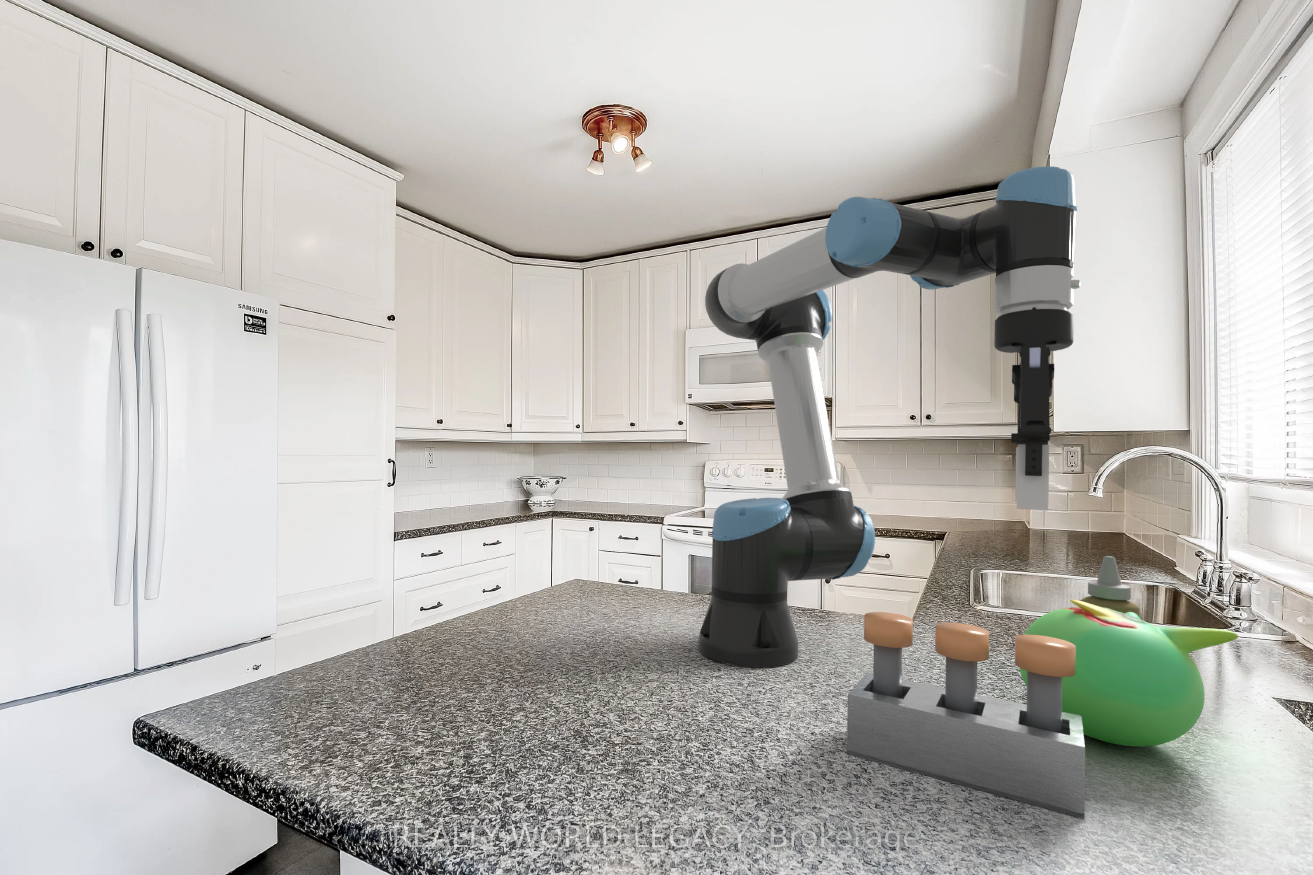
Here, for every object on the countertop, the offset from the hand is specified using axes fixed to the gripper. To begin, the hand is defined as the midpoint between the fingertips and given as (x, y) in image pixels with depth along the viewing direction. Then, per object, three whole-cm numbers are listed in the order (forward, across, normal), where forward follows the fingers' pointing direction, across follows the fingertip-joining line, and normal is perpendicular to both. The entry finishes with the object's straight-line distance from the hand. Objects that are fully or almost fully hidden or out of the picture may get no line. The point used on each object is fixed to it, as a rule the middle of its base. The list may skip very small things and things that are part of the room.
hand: (1030, 505), depth 69 cm
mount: (+25, -11, +6) cm, 28 cm away
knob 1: (+19, -10, +13) cm, 26 cm away
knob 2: (+19, -11, -1) cm, 22 cm away
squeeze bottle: (+26, +22, -10) cm, 35 cm away
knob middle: (+19, -11, +6) cm, 23 cm away
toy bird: (+26, +6, -8) cm, 28 cm away
